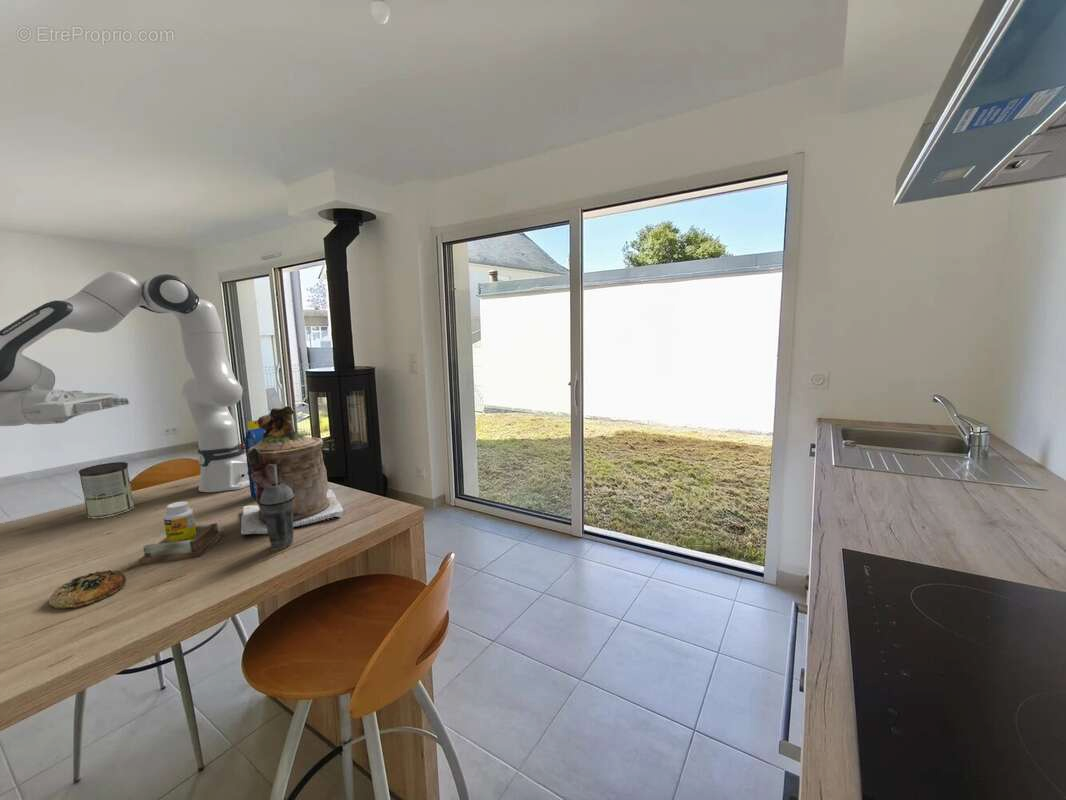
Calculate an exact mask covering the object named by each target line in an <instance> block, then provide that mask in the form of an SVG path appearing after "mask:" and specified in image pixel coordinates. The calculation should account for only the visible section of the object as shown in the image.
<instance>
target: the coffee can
mask: <svg viewBox="0 0 1066 800" xmlns="http://www.w3.org/2000/svg"><path fill="white" fill-rule="evenodd" d="M128 465H129V463H128V462H124V461H123V462H120V461H118V462H117V461H116V462H115V461H114V462H107V463H100V464H96V465H91V466H88V467H84V468H82V469H80V470H78V474H79V476H80V477H79V478H80V482H81V488H82V493H83V498H84V499H83V500H84V503H85V508H86V509H85V510H86V514H87V516H88V517H90V518H101V517H108V516H113V515H117V514H120V513H123V512H126V511H129V510H131V509H133V508H134V509H135V503H134V499H133V492H132V487H131V486H132V485H131V480H130V474H129V473H130V472H129V469H128ZM103 499H104V500H103ZM134 509H133V510H134ZM131 511H132V510H131ZM129 512H130V511H129ZM87 516H86V517H87ZM117 516H118V515H117ZM113 517H114V516H113Z"/></svg>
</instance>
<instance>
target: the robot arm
mask: <svg viewBox="0 0 1066 800" xmlns="http://www.w3.org/2000/svg"><path fill="white" fill-rule="evenodd" d="M138 307H139V308H141V309H145V310H147V311H149V312H152V313H156V314H169V313H171V314H172V315H174V316H175V317H176V318H177V321H178V323H179V325H180V333H181V339H182V345H183V352H184V357H185V359H186V361H187V362H188V363H189V366H190V368H191V369H192V372H193V375H194V376H192V377H190V378H188V379H186V380H185V381H184V383H183V384H182V388H181V392H182V395H183V397H184V398H185V400H186V402H187V405H188V408H189V412H190V414H191V416H192V419H193V422H194V425H195V430H196V436H197V437H196V438H197V444H198V449H197V455H198V456H197V458H198V463H199V466H200V479H199V485H198V489H197V490H198V491H199V492H203V493H217V492H218V493H219V492H225V491H236V490H237V491H238V490H240V489H244V488H247V487H250V483H249V475H248V467H247V458H246V450H245V443H243V444H242V443H240V442H239V439H238V432H237V431H238V430H237V423H236V421H235V419H234V418H233V416H232V414H231V412H230V410H229V407H232V406H234V405H236V404H238V403H239V402H240V401H241V399H242V398H243V391H244V390H243V387H242V385H241V384H240V382H239V381H238V380H237V379H236V376H235V374H234V372H233V369H232V367H231V364H230V362H229V359H228V355H227V350H226V344H225V338H224V333H223V332H224V331H223V326H222V322H221V319H220V316H219V313H218V310H217V307H216V306H215V305H214V304H213V303H212V302H210V301H209V300H206V299H202V298H200V297H199V296H198V294H197V293H196V291H194V290H193V287H191V285H190V284H189V283H188V281H186V280H185V279H184V278H182V277H180V276H177V275H174V274H166V273H164V274H159V275H155V276H152V277H149V278H147V279H145V280H138V279H136V278H134V277H133V276H131V275H130V274H128V273H125V272H122V271H117V270H112V271H108V272H106V273H104V274H102V275H100V276H99V277H97V278H95V279H94V280H92V281H90V282H89V283H88V284H86V285H85V286H84V287H82V289H80V290H79V291H78V292H77V293H75V294H73V295H72V296H70V297H68V298H66V299H63V300H52V301H48V302H45V303H43V304H42V305H39V307H37V308H35V309H32V310H31V311H30V312H28V313H26V314H25V315H23V316H21V317H20V318H18V319H17V320H15V321H13V322H12V323H10V324H9V325H7V326H5V327H3V328H1V330H0V427H15V426H16V427H17V426H24V425H27V424H28V425H29V424H30V425H51V424H53V425H55V424H63V423H66V422H67V421H69V420H71V419H73V418H75V417H78V416H81V415H85V414H88V413H93V412H98V411H103V410H106V409H112V408H117V407H120V406H126V405H129V404H130V399H129V397H120V396H119V394H117V393H111V392H110V393H108V392H107V393H106V392H83V391H82V390H64V389H63V390H62V389H54V386H55V383H56V376H55V373H54V372H53V370H51V369H50V368H48V367H47V366H45V365H43V364H41V363H40V362H38V361H36V360H34V359H33V358H32V359H31V358H29V357H28V356H26V355H24V354H23V352H24V351H25V349H27V348H29V347H31V346H32V345H33V344H35V343H37V342H38V341H39V340H41V339H42V338H44V337H46V336H47V335H48V334H50V333H51V332H54V331H57V330H62V329H63V330H65V329H68V330H75V331H80V332H84V333H94V334H95V333H97V334H99V333H105V332H108V331H111V330H112V329H113V328H115V327H116V326H118V325H119V324H120V323H121V322H122V320H124V319H125V318H126V317H127V316H128V315H129V314H130V313H131V312H132V311H133V310H135V309H136V308H138Z"/></svg>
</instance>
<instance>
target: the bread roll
mask: <svg viewBox="0 0 1066 800" xmlns="http://www.w3.org/2000/svg"><path fill="white" fill-rule="evenodd" d="M126 582H127V577H126V575H125V574H124V573H123V572H122V571H120V570H111V569H107V570H103V571H96V572H94V573H93V572H90V573H87V574H85V575H80V576H78V577H75V578H72V579H71V580H70V581H69V582H66V583H64V584H62V585H60V586H59V587H58V588H56V589H55V590H54V591H53V593H52V594H51V596H50V597H49V601H48V604H49V605H50V606H51V607H54V608H55V609H60V608H61V609H68V608H72V609H73V608H74V609H75V608H76V609H77V608H81V607H86V606H90V605H92V604H95V603H97V602H100V601H103V600H105V599H106V598H109V597H110V596H112V595H114V594H116V593H118V592H119V591H120V590H122V589H123V588H124V587H125V585H126ZM94 602H95V603H94ZM85 605H86V606H85Z"/></svg>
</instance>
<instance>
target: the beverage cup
mask: <svg viewBox="0 0 1066 800" xmlns="http://www.w3.org/2000/svg"><path fill="white" fill-rule="evenodd" d="M274 473H275V483H274V484H271V485H269V486H268V487H266V488H265V489H264V491H263V492H262V494H261V497H260V505H261V508H262V511H263V513H264V517H265V522H266V526H267V531H268V534H267V535H268V539H269V543H270V545H271V549H272V548H273V549H272V550H274V549H280V548H284V547H287V546H289V545H291V544H292V543H294V527H293V505H294V498H295V497H294V495H293V491H292V490H291V488H290V487H289V486H287V485H286V484H283V483H278V481H277V467H276V464H275V465H274ZM292 545H293V544H292ZM292 545H291V546H292ZM289 547H290V546H289ZM287 548H288V547H287ZM284 549H285V548H284ZM280 550H281V549H280Z"/></svg>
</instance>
